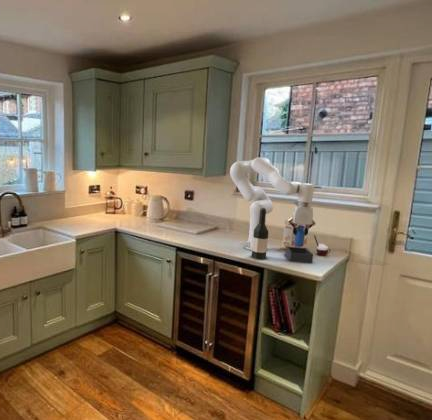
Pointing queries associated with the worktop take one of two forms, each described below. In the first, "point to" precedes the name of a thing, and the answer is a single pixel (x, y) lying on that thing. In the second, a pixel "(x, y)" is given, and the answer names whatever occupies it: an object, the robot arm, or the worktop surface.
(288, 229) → the coffeecake box
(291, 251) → the dark grey tray
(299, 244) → the bottle
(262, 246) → the wine bottle
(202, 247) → the worktop surface
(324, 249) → the cocoa
